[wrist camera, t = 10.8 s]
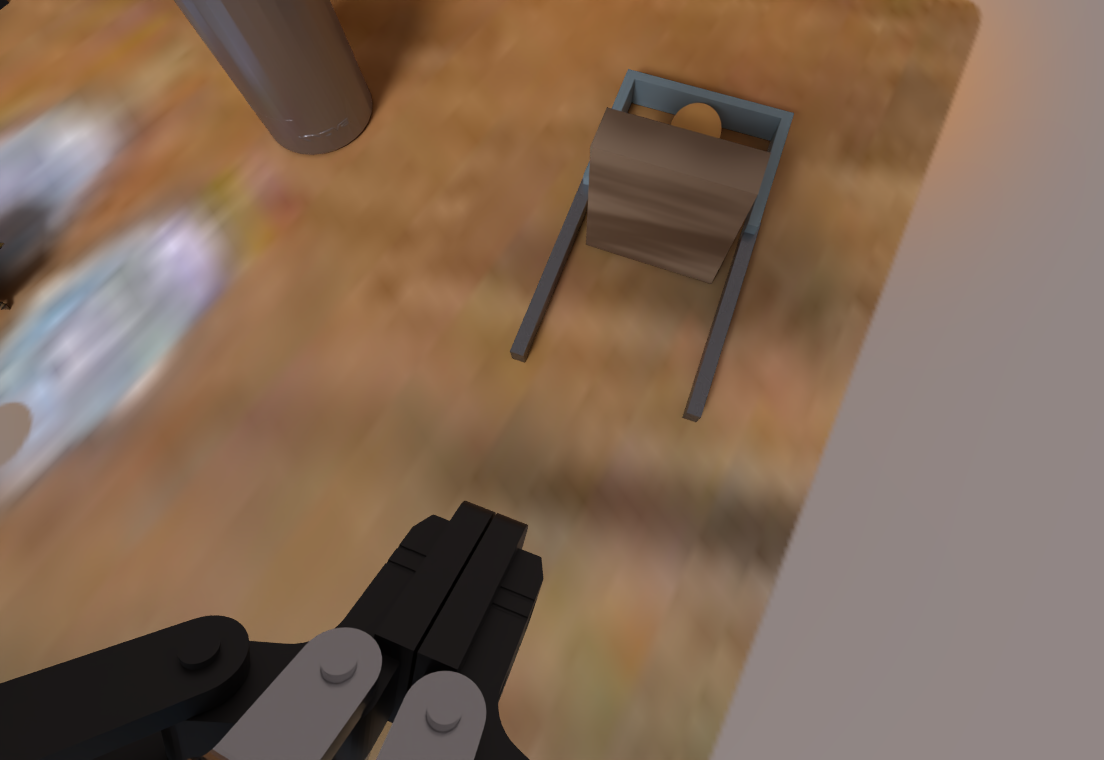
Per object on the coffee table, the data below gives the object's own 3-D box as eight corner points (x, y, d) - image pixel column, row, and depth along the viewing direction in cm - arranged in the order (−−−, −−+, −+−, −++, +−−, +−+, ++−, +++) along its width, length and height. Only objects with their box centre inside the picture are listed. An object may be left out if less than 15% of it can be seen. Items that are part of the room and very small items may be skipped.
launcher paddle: (711, 283, 42) (757, 194, 31) (586, 244, 43) (590, 146, 33) (722, 250, 43) (771, 152, 32) (598, 212, 44) (607, 107, 33)
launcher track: (696, 422, 39) (700, 417, 38) (512, 358, 41) (510, 351, 40) (754, 233, 43) (761, 223, 42) (585, 183, 45) (585, 171, 44)
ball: (653, 147, 45) (668, 94, 43) (690, 150, 47) (706, 99, 45) (682, 164, 43) (700, 108, 40) (720, 166, 45) (739, 113, 42)
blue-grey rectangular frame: (748, 245, 43) (758, 227, 41) (582, 195, 45) (583, 175, 42) (782, 135, 46) (794, 113, 43) (625, 93, 48) (628, 69, 45)
